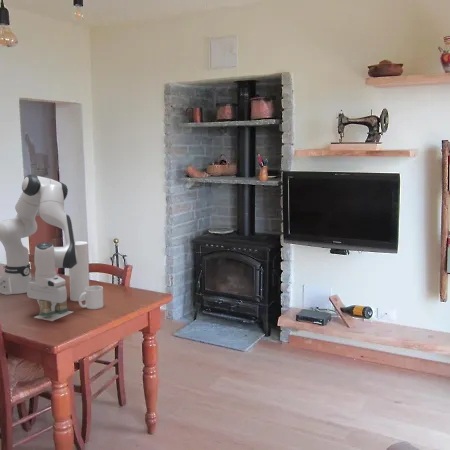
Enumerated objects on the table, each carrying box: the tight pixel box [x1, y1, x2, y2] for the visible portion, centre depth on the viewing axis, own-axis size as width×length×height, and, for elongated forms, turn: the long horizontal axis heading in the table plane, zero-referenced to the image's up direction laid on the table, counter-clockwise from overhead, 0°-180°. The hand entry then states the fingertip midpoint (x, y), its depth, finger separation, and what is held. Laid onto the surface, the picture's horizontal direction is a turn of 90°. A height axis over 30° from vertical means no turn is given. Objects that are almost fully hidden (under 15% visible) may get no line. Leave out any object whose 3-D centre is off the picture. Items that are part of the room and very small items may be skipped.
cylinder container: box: [68, 240, 90, 302], centre depth 258 cm, size 9×9×30 cm
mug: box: [78, 285, 104, 310], centre depth 246 cm, size 12×8×10 cm
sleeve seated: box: [55, 300, 69, 314], centre depth 239 cm, size 5×5×7 cm
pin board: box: [33, 310, 74, 322], centre depth 235 cm, size 11×14×6 cm
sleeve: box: [38, 300, 55, 317], centre depth 231 cm, size 5×5×7 cm
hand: (47, 309), depth 232 cm, fingers closed on sleeve, 4 cm apart
